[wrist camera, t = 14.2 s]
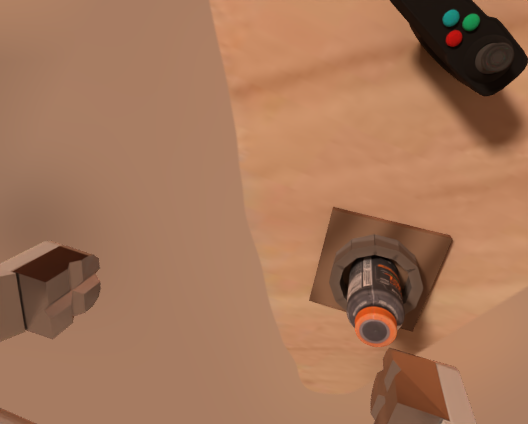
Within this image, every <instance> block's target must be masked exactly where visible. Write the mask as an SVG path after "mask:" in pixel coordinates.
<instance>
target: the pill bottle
mask: <svg viewBox="0 0 528 424" xmlns="http://www.w3.org/2000/svg"><path fill="white" fill-rule="evenodd" d="M347 316H348V319H349V321H350V323H351V324H352V326H353V327H354V328H355V332H356V334H357V336H358V338H359V339H360V340H361V341H362V342H364V343H365V344H367V345H370V346H373V347H383V346H387V345H389V344H391V343H392V342H393V341H394V340H395V338H396V336H397V330H398V329H399V328H400V327H401V326H402V324H403V322H404V317H405V311H404V305H403V299H402V293H401V287H400V281H399V275H398V270H397V268H396V266H395V264H394V263H393V262H392V261H391V260H390V259H388V258H386V257H382V256H378V255H370V256H365V257H360V258H358V259H357V260H355V261H354V263H353V264H352V266H351V268H350V273H349V286H348V295H347Z"/></svg>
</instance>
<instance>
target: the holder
mask: <svg viewBox="0 0 528 424" xmlns="http://www.w3.org/2000/svg"><path fill="white" fill-rule="evenodd" d="M451 241H452V238H451V236H450V235H446V234H442V233H438V232H433V231H429V230H425V229H421V228H417V227H413V226H409V225H405V224H401V223H397V222H392V221H388V220H384V219H380V218H376V217H372V216H368V215H364V214H360V213H356V212H352V211H347V210H343V209H339V208H335V207H333V210H332V214H331V218H330V222H329V225H328V229H327V233H326V237H325V241H324V245H323V249H322V253H321V256H320V260H319V264H318V268H317V272H316V276H315V280H314V284H313V288H312V291H311V295H310V299H309V301H313V302H316V303H319V304H323V305H326V306H329V307H333V308H336V309H339V310H342V311H346V312H347V295H348V286H349V273H350V268H351V266H352V264H353V263H354V261H355V260H357V259H358V258H360V257H365V256H370V255H378V256H382V257H386V258H388V259H390V260H391V261H392V262H393V263H394V264H395V266H396V268H397V270H398V275H399V281H400V287H401V293H402V299H403V305H404V311H405V317H404V322H403V324H402V326H401V327H400V328H402V329H406V330H409V331H412V332H413V329H414V327H415V325H416V323H417V320H418V318H419V316H420V313H421V311H422V309H423V306H424V304H425V302H426V299H427V297H428V295H429V292H430V290H431V288H432V285H433V283H434V281H435V278H436V276H437V274H438V271H439V269H440V267H441V264H442V262H443V260H444V257H445V255H446V253H447V250H448V248H449V246H450V243H451Z"/></svg>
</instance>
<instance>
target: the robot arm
mask: <svg viewBox="0 0 528 424" xmlns="http://www.w3.org/2000/svg"><path fill="white" fill-rule="evenodd" d="M99 268H100V267H99V258H97V257H96V256H95V255H93V254H89V253H87V252H84V251H81V250H78V249H75V248H72V247H69V246H65V245H63V244H60V243H57V242H54V241H45V242H43V243H41V244H39V245H36V246H35V247H32V248H31V249H28V250H26V251H25V252H22V253H20V254H19V255H16V256H14V257H12V258H11V259H8V260H6V261H5V262H2V263H0V342H1V341H4V340H6V339H8V338H11V337H13V336H16V335H18V334H21V333H23V332H25V330H27V331H30V332H33V333H36V334H39V335H42V336H45V337H47V338H50V339H54V338H55V337H56V336H57V335H59V334H60V333H61V332H62V331H64V330H65V329H66V328H67V327H68V326H70V325H71V324H72V323H73V319H74V316H76V315H79V314H82V313H85V312H86V311H88V310H89V309H90V308H91V307H92V306H93V305H94V303H95V302H96V300H97V298H98V297H99V292H100V280H99V279H98V277H97V275H96V274H95V273H96V272H97V271H98V270H99ZM371 415H372V416H373V418H374V419H375V422H374V424H477V423H476V420H475V418H474V414H473V411H472V408H471V405H470V402H469V399H468V396H467V393H466V390H465V387H464V384H463V381H462V378H461V375H460V372H459V370H458V369H457V368H456V367H454V366H451V365H447V364H444V363H440V362H437V361H431V360H428V359H425V358H421V357H418V356H415V355H412V354H409V353H405V352H402V351H399V350H396V349H392V348H388V350H387V351H386V353H385V355H384V358H383V370H382V371H380V372H378V373H377V376H376V378H375V381H374V385H373V389H372V394H371ZM0 424H36V423H34V422H31V421H29V420H27V419H25V418H22V417H20V416H18V415H15V414H13V413H11V412H9V411H6V410H4V409H2V408H0Z"/></svg>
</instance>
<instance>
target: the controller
mask: <svg viewBox="0 0 528 424" xmlns="http://www.w3.org/2000/svg"><path fill="white" fill-rule="evenodd" d="M390 1H391V3H392V4H393V5H394V6H395V7H396V8H397V10H398V11H399V12H400V13H401V14H402V15H403V16H404V18H405V19H406V20H407V21H408V22H409V25H410V27H411V29H412V31H413V32H414V34H415V36H416V37H417V39H418V40H419V42H420V43H421V44H422V46H423V47H424V48H425V49H426V50H427V52H428V53H429V54H430V55H431V56H432V57H433V58H434V59H435V60H436V61H437V62H438V63H439V64H440V65H441V66H442V67H443V68H444V69H445V70H446V71H447V72H448V73H450V74H451V75H452V76H453V77H454V78H456V79H457V80H458V81H460V82H461V83H463V84H465V85H466V86H468V87H470V88H471V89H472V90H474V91H475V92H477V93H479V94H480V95H482V96H490V95H493V94H495V93H497V92H498V91H500V90H502V89H503V88H504V87H505V86H507V85H508V84H509V83H510V82H512V81H513V80H514V79H515V78H516V77H518V76H519V75H520V74H521V72H522V71H523V70H524V69H525V67H526V66H527V64H528V58H527V56H526V54H525V52H524V50H523V49H522V48H521V47H520V45H519V44H518V43H517V42H516V40H515V39H514V38H513V37H512V35H511V34H510V33H509V32H508V30H507V29H506V28H505V27H504V25H503V24H502V23H501V22H500V21H499V20H498V19H497V18H494V17H489V16H487V15H486V14H485V13H484V12H483V11H482V10H481V9H480V8H479V7H478V6H477V5H476V4H475V3H474V2H473V1H472V0H390Z"/></svg>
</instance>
